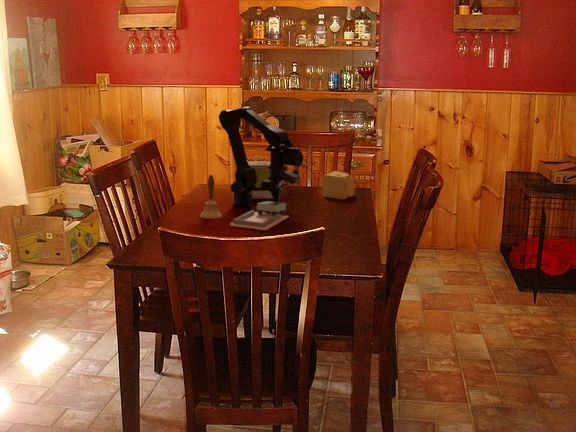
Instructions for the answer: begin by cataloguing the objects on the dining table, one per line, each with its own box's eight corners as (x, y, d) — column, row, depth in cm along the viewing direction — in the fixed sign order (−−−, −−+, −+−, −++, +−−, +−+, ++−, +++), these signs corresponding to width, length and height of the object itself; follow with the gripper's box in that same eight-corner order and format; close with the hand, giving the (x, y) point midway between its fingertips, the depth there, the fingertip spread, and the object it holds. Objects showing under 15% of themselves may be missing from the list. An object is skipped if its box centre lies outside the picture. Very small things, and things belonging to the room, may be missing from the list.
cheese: (354, 195, 305) (355, 173, 303) (342, 200, 296) (343, 177, 294) (333, 192, 310) (334, 170, 308) (321, 197, 302) (322, 174, 299)
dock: (230, 225, 252) (230, 219, 252) (256, 212, 272) (256, 206, 271) (265, 230, 247) (265, 223, 246) (289, 216, 267) (289, 210, 266)
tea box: (279, 194, 305) (279, 161, 301) (279, 199, 295) (280, 165, 292) (244, 194, 304) (245, 160, 301) (244, 199, 295) (244, 164, 291)
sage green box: (256, 214, 264) (256, 203, 263) (266, 212, 273) (267, 201, 273) (275, 217, 261) (276, 205, 261) (285, 214, 270) (286, 203, 270)
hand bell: (225, 214, 268) (225, 174, 264) (216, 219, 260) (215, 177, 256) (205, 212, 270) (205, 172, 266) (196, 217, 262) (195, 176, 259)
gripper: (287, 169, 257) (286, 210, 260) (305, 161, 273) (304, 200, 277) (260, 166, 261) (259, 207, 265) (279, 159, 277) (279, 197, 281)
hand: (277, 202), depth 272 cm, fingers closed
